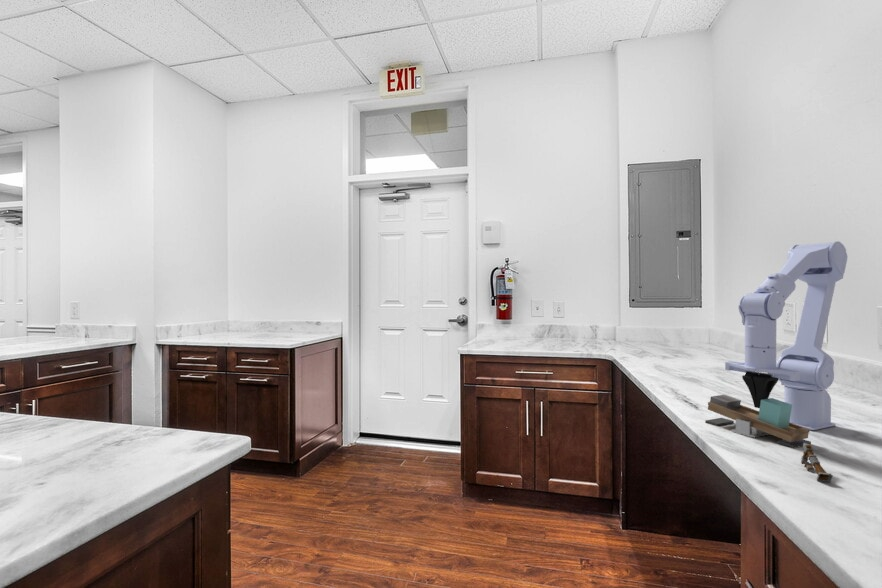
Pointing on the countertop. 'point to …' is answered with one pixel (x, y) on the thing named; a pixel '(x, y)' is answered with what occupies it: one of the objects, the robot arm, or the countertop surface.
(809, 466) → the wooden post with brackets
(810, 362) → the robot arm
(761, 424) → the beam
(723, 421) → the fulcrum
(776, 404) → the block
